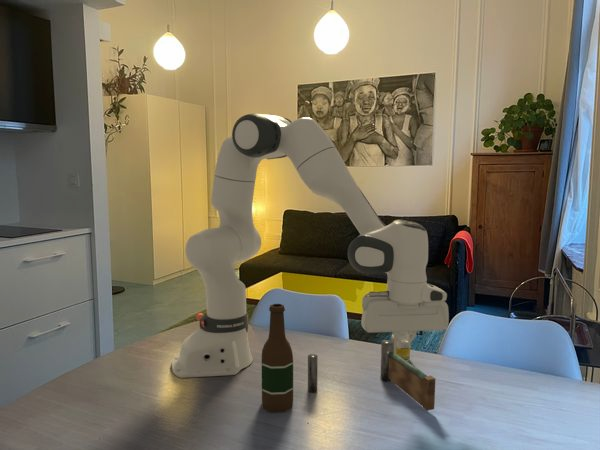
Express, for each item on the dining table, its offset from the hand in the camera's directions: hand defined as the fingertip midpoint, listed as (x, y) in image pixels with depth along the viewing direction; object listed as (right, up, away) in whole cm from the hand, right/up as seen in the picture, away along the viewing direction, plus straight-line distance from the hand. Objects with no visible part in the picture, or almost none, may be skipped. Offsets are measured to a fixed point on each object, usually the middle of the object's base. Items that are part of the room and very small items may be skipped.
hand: (403, 348), depth 107 cm
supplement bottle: (+5, -10, +26) cm, 28 cm away
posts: (-11, -12, +10) cm, 19 cm away
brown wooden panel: (+2, -12, +3) cm, 12 cm away
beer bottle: (-30, -13, 0) cm, 32 cm away
